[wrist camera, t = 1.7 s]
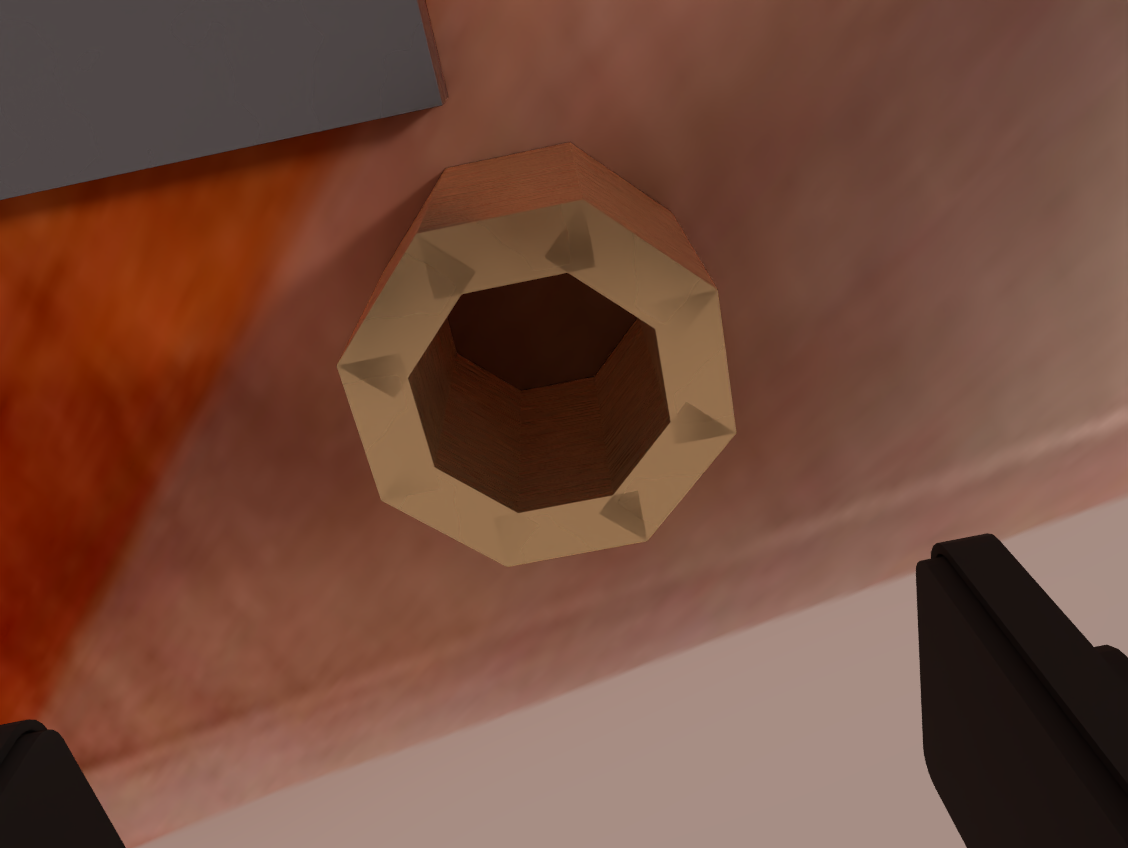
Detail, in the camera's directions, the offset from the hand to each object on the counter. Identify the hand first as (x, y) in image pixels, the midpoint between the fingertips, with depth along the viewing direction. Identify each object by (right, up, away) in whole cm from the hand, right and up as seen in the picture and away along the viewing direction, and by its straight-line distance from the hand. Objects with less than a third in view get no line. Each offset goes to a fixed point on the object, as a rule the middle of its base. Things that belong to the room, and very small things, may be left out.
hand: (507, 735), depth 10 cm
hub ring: (0, +6, +13) cm, 14 cm away
